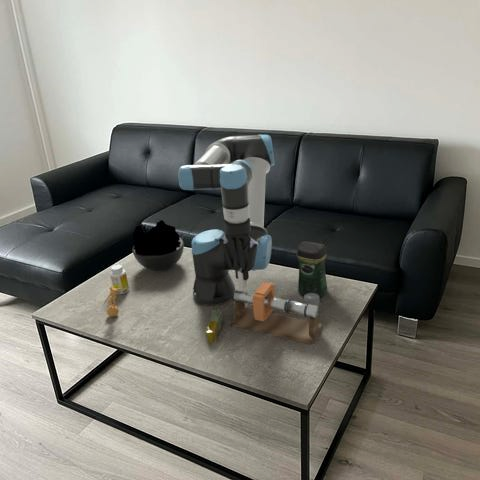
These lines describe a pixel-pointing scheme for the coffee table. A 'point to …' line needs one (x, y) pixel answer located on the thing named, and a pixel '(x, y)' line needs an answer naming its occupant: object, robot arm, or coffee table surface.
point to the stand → (277, 324)
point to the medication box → (214, 326)
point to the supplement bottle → (119, 279)
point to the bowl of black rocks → (158, 247)
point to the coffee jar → (312, 268)
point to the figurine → (113, 309)
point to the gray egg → (312, 299)
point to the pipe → (279, 304)
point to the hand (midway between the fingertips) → (243, 287)
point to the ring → (262, 301)
